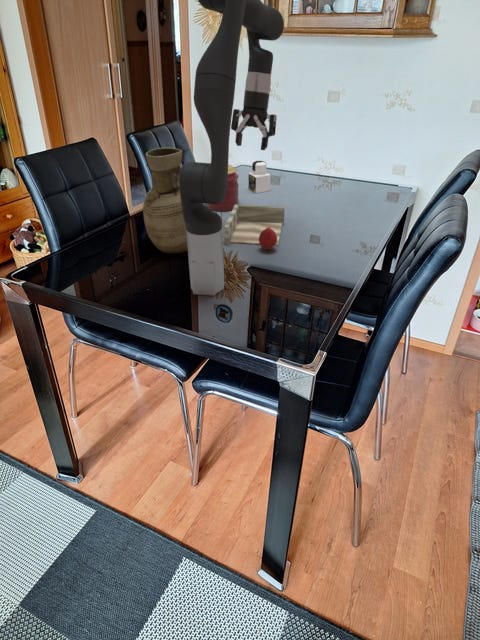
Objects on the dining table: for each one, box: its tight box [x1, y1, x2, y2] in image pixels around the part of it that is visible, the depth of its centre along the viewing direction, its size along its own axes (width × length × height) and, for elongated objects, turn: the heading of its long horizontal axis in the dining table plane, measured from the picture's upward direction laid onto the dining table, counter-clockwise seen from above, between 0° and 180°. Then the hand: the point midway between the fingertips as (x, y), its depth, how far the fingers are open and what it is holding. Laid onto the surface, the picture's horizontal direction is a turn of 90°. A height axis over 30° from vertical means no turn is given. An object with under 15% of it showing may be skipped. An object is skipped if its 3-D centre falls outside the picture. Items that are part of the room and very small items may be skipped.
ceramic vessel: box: [142, 147, 188, 254], centre depth 134 cm, size 19×21×30 cm
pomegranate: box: [259, 226, 277, 251], centre depth 136 cm, size 6×6×8 cm
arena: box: [223, 204, 285, 246], centre depth 148 cm, size 21×18×6 cm
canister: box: [206, 164, 240, 212], centre depth 168 cm, size 13×13×18 cm
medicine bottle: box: [248, 160, 271, 194], centre depth 186 cm, size 7×7×12 cm
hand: (250, 147), depth 137 cm, fingers open, 8 cm apart
